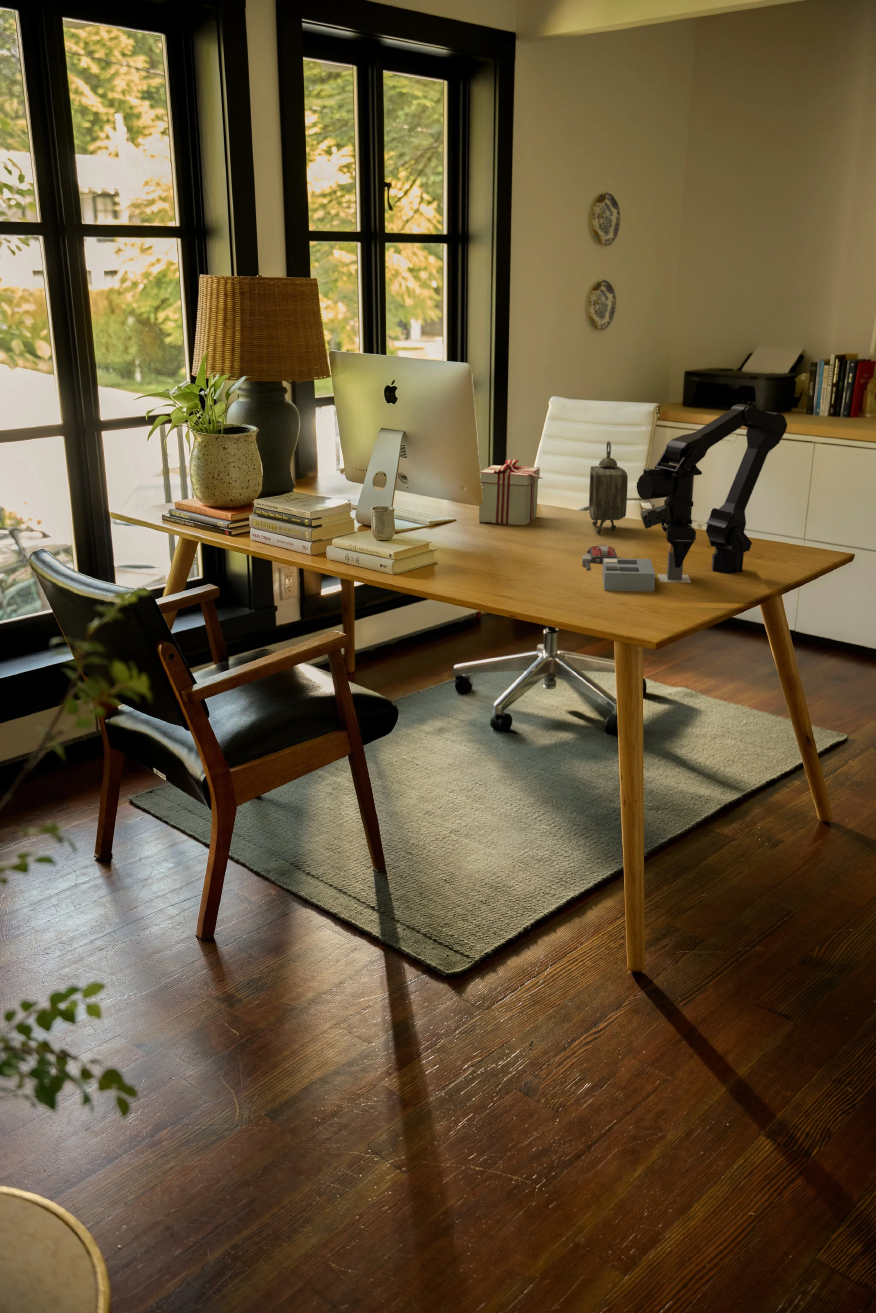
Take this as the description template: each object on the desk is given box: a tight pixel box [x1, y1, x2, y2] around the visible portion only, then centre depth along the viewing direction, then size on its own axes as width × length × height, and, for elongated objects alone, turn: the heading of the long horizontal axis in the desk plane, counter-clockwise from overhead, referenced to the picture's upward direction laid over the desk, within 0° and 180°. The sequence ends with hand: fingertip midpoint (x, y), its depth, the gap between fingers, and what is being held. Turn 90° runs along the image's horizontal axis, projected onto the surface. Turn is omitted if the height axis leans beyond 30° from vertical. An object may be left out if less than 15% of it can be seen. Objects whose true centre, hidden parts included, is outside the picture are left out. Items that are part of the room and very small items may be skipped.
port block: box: [601, 557, 656, 592], centre depth 248 cm, size 11×14×5 cm
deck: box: [657, 573, 692, 584], centre depth 252 cm, size 7×7×1 cm
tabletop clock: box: [588, 440, 629, 535], centre depth 303 cm, size 14×9×25 cm, turn 178°
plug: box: [666, 542, 684, 580], centre depth 251 cm, size 3×3×8 cm
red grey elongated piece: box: [581, 544, 619, 571], centre depth 269 cm, size 9×4×20 cm
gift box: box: [478, 459, 543, 526], centre depth 320 cm, size 17×18×17 cm
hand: (675, 562), depth 251 cm, fingers open, 9 cm apart
